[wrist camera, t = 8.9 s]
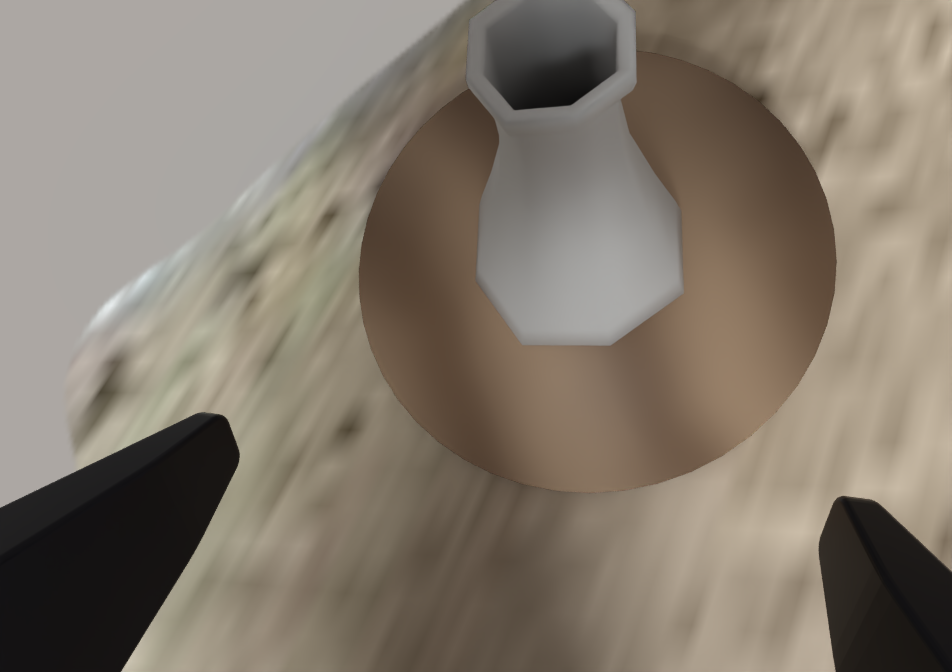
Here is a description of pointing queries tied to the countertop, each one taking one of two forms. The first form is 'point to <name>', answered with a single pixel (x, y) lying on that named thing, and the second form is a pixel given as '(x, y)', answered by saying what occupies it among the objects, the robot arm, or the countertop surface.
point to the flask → (568, 176)
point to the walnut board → (641, 350)
